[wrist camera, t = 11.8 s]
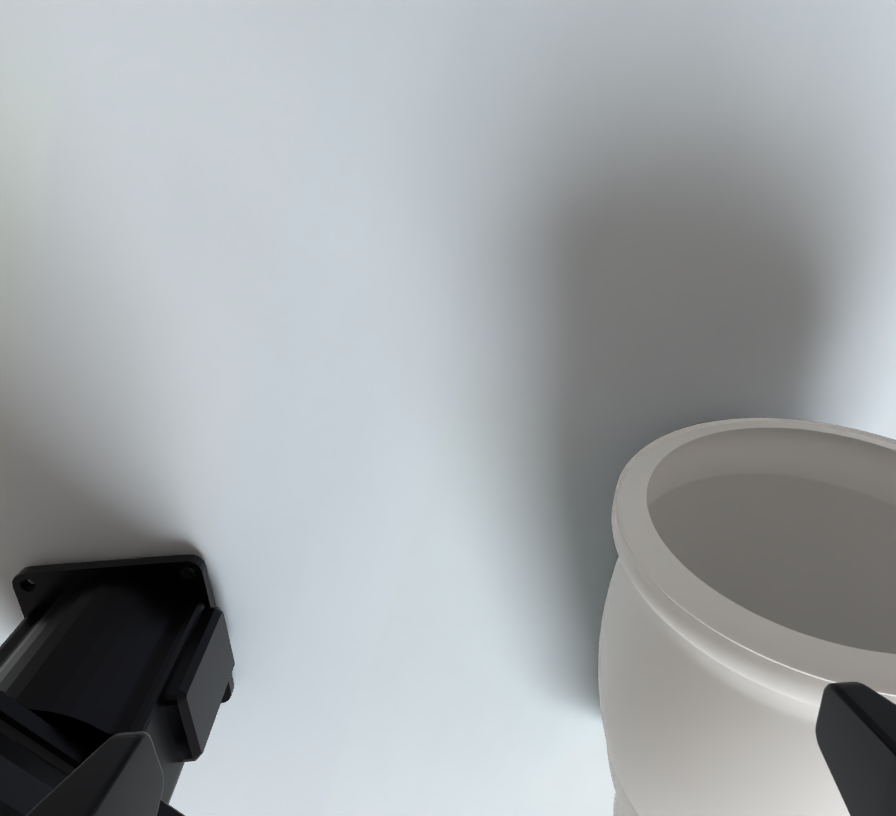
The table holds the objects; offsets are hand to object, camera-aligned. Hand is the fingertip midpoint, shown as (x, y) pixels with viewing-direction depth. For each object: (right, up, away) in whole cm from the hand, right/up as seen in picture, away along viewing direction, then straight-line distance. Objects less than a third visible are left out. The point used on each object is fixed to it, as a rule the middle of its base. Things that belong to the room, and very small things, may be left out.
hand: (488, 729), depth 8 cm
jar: (+10, -12, +15) cm, 21 cm away
